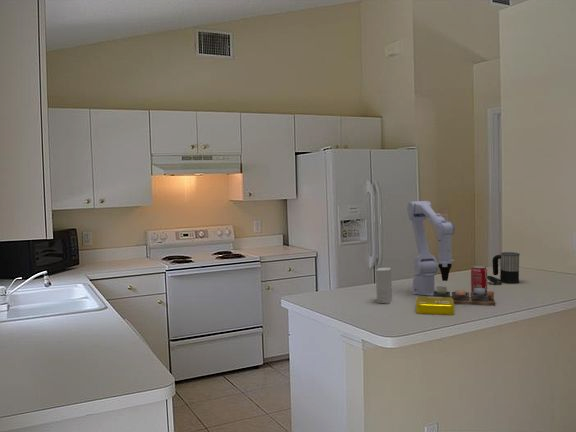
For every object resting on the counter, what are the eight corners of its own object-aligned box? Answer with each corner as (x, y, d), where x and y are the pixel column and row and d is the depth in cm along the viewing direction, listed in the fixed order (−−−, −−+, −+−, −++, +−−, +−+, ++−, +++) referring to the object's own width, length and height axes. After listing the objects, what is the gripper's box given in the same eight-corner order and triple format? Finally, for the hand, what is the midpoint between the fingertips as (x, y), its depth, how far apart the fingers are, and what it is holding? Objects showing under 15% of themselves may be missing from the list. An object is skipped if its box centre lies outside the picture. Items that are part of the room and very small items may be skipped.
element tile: (453, 307, 240) (453, 296, 240) (454, 316, 226) (454, 304, 225) (416, 305, 244) (416, 294, 244) (416, 314, 230) (416, 303, 229)
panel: (427, 302, 247) (427, 292, 247) (428, 297, 257) (428, 287, 256) (495, 305, 239) (495, 294, 239) (493, 300, 249) (493, 289, 249)
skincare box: (389, 303, 247) (389, 270, 245) (376, 303, 249) (375, 269, 247) (392, 299, 255) (391, 267, 253) (378, 299, 256) (378, 266, 255)
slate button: (474, 296, 244) (474, 289, 244) (474, 294, 248) (474, 287, 248) (485, 296, 243) (485, 290, 243) (484, 294, 247) (484, 287, 247)
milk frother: (521, 281, 289) (521, 252, 287) (515, 287, 275) (515, 257, 274) (492, 278, 296) (492, 250, 295) (485, 284, 283) (485, 255, 282)
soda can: (488, 296, 257) (488, 268, 256) (471, 295, 259) (472, 267, 258) (486, 292, 264) (486, 265, 263) (470, 292, 266) (470, 265, 264)
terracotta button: (455, 299, 246) (455, 292, 246) (455, 296, 251) (455, 290, 250) (465, 299, 245) (465, 292, 245) (465, 297, 249) (465, 290, 249)
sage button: (436, 295, 249) (436, 288, 248) (436, 292, 253) (436, 286, 252) (446, 295, 247) (446, 288, 247) (446, 293, 252) (446, 286, 251)
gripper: (454, 252, 239) (454, 284, 240) (454, 247, 253) (454, 277, 254) (437, 252, 241) (437, 283, 242) (438, 247, 254) (438, 277, 256)
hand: (444, 280), depth 248 cm, fingers closed
